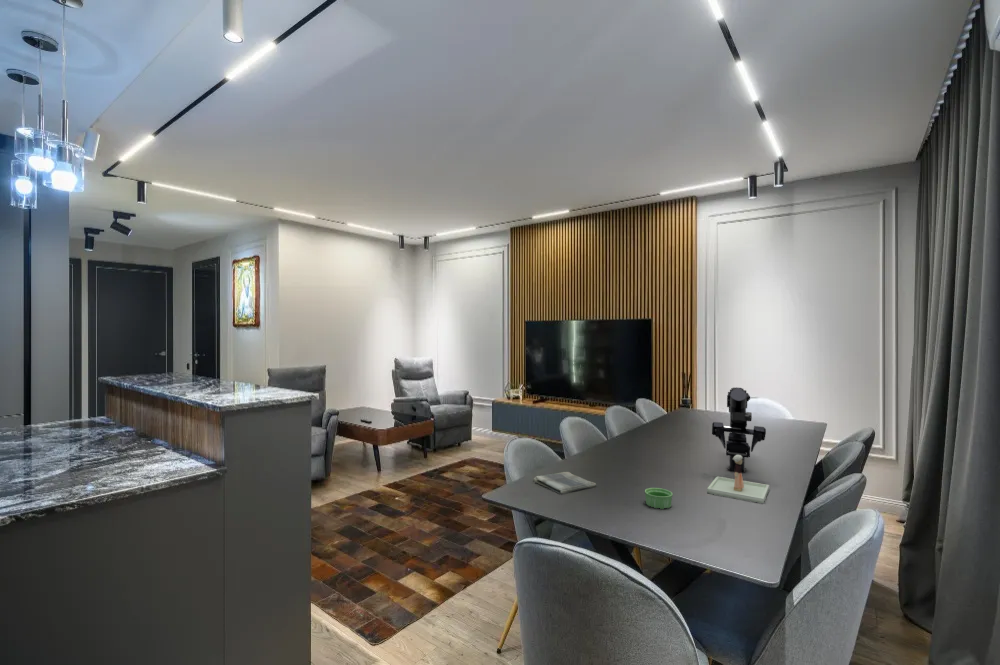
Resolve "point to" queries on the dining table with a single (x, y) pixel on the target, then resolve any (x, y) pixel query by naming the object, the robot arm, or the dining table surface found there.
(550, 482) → the dish towel
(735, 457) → the grandmother figurine
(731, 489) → the sage tray
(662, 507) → the ramekin
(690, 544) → the dining table surface
